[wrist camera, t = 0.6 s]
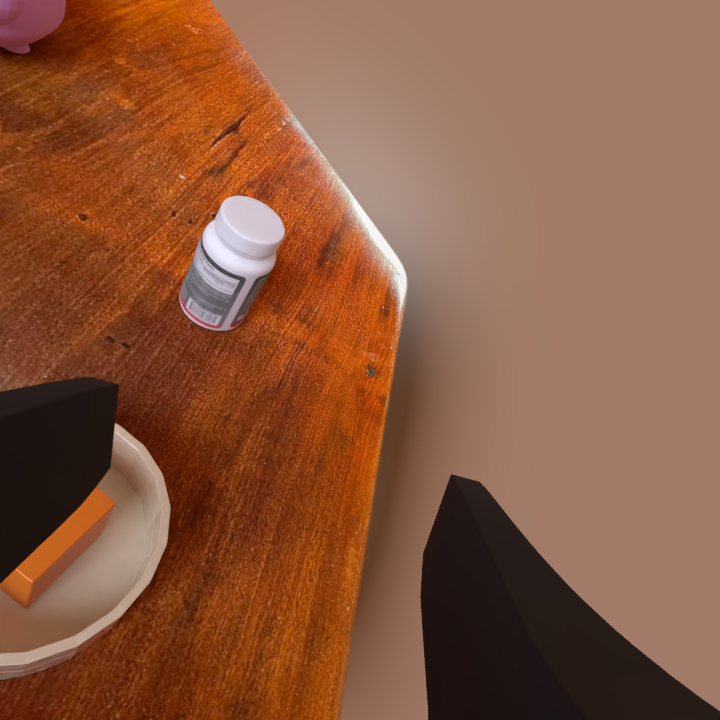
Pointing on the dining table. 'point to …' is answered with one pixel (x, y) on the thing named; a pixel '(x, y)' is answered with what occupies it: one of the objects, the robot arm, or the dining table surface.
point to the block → (59, 550)
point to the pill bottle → (231, 263)
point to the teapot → (28, 22)
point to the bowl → (94, 570)
